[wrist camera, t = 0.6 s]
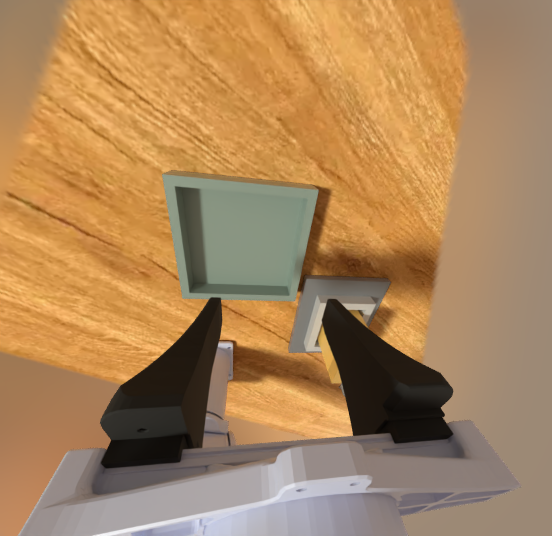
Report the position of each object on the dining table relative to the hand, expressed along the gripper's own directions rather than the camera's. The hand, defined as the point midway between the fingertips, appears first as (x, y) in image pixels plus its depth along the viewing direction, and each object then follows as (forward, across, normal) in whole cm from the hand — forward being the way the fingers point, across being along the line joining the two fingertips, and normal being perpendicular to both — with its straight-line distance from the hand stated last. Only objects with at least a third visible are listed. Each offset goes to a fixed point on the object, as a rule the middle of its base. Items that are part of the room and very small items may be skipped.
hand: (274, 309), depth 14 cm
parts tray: (+10, +2, 0) cm, 10 cm away
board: (+10, -10, +11) cm, 18 cm away
